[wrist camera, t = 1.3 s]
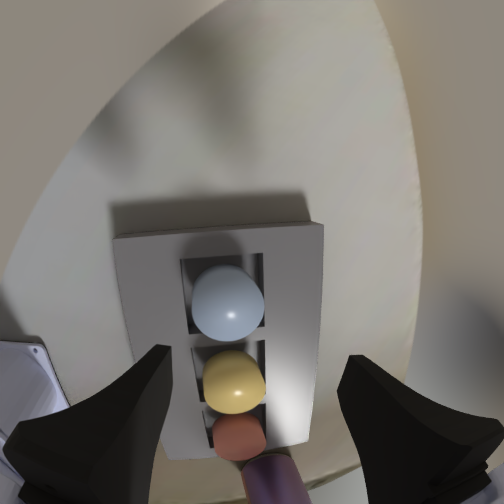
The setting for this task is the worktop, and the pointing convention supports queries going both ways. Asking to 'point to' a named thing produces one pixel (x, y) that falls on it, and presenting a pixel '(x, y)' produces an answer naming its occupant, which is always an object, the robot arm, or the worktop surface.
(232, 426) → the brick button
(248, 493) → the beverage can
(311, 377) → the panel
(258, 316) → the slate button
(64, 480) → the robot arm
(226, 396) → the ochre button
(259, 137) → the worktop surface
